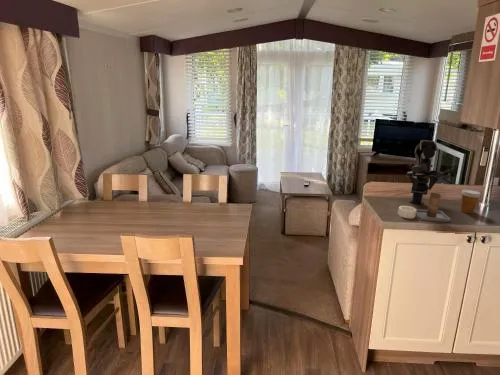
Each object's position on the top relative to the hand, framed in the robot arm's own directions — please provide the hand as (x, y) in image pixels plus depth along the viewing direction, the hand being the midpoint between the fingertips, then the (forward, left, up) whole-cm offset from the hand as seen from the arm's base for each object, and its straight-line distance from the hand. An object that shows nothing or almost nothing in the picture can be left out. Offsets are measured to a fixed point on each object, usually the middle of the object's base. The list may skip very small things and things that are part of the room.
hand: (421, 189), depth 206 cm
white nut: (+11, -3, -13) cm, 17 cm away
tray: (+3, +8, -13) cm, 15 cm away
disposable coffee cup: (-21, +20, -13) cm, 32 cm away
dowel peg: (+3, +8, -12) cm, 15 cm away
